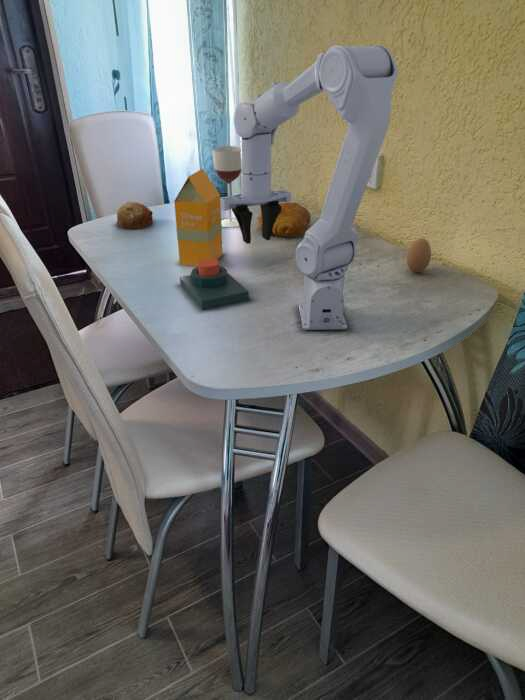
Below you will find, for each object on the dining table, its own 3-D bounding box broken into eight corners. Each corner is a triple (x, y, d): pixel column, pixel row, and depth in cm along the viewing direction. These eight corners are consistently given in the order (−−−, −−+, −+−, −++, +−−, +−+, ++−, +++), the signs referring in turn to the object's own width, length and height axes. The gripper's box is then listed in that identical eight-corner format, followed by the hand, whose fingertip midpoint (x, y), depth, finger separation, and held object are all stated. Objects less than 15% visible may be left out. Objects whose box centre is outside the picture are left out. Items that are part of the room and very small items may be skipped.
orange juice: (223, 254, 123) (219, 169, 113) (210, 267, 116) (205, 177, 105) (193, 251, 125) (187, 167, 114) (178, 264, 118) (170, 175, 107)
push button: (223, 275, 103) (222, 264, 102) (202, 278, 101) (202, 268, 100) (215, 267, 106) (214, 257, 105) (195, 271, 105) (194, 260, 103)
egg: (399, 270, 115) (404, 236, 110) (416, 266, 117) (422, 232, 113) (415, 278, 111) (421, 243, 107) (432, 274, 113) (439, 239, 109)
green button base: (248, 300, 101) (248, 282, 99) (202, 310, 97) (200, 291, 95) (223, 277, 111) (223, 260, 109) (180, 285, 107) (178, 268, 105)
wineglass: (211, 226, 142) (207, 151, 131) (222, 217, 149) (219, 145, 138) (238, 229, 140) (236, 152, 129) (248, 219, 147) (247, 147, 136)
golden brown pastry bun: (313, 230, 145) (316, 202, 142) (303, 240, 131) (306, 209, 128) (264, 225, 148) (266, 197, 145) (250, 234, 134) (252, 203, 131)
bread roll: (122, 232, 148) (106, 209, 143) (151, 213, 149) (136, 190, 144) (129, 242, 141) (113, 218, 136) (160, 222, 142) (145, 198, 137)
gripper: (279, 164, 102) (278, 229, 110) (213, 171, 97) (216, 239, 104) (297, 171, 97) (294, 239, 104) (227, 179, 92) (230, 250, 99)
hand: (256, 240), depth 104 cm, fingers open, 4 cm apart
